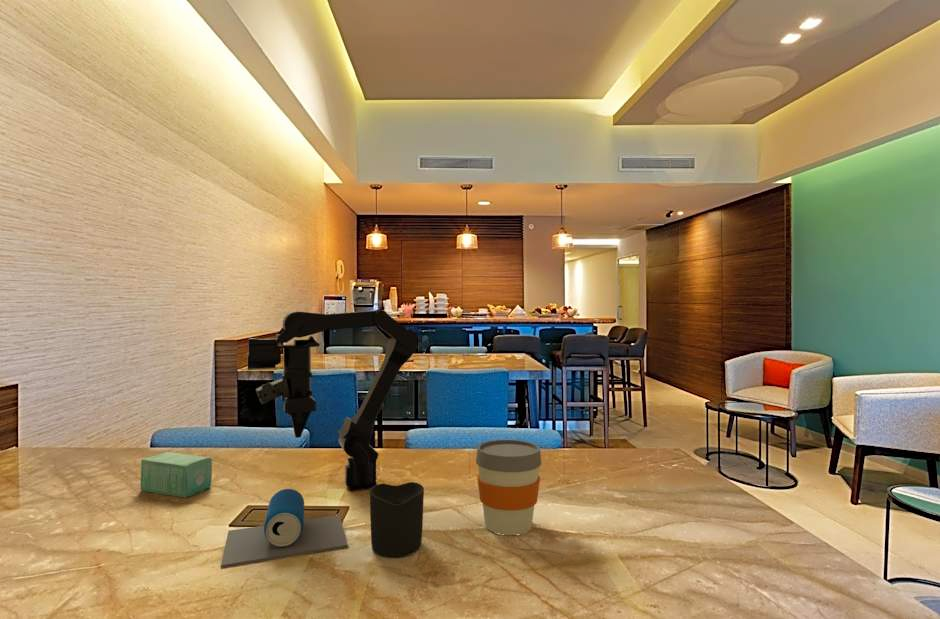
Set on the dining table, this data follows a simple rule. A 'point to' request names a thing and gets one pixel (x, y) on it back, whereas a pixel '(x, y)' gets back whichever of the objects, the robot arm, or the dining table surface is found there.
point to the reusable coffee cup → (508, 484)
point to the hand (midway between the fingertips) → (297, 437)
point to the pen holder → (396, 519)
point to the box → (176, 474)
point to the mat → (257, 548)
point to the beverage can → (284, 517)
